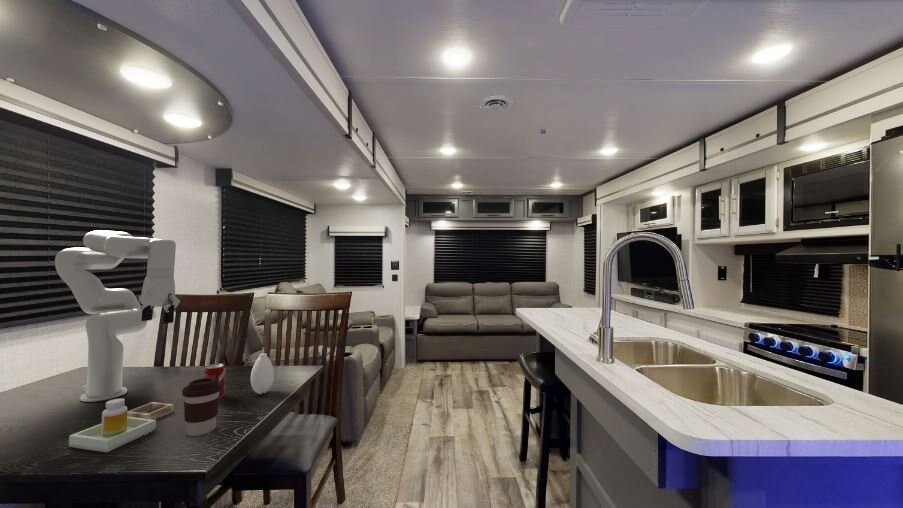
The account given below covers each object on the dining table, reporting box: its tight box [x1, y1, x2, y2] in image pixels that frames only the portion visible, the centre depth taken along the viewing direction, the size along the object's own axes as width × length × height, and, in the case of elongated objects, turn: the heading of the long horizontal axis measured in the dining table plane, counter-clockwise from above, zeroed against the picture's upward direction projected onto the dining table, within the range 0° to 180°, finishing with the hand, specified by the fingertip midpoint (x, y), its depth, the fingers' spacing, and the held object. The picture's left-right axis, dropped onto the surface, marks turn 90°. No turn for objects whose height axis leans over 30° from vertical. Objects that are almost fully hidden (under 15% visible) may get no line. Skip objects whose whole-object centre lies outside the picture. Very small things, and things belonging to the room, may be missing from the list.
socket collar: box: [127, 401, 175, 420], centre depth 117 cm, size 9×9×2 cm
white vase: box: [250, 347, 275, 395], centre depth 139 cm, size 8×8×18 cm
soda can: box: [203, 363, 226, 399], centre depth 133 cm, size 7×7×12 cm
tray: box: [68, 416, 157, 453], centre depth 102 cm, size 13×13×3 cm
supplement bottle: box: [101, 398, 128, 439], centre depth 103 cm, size 5×5×10 cm
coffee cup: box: [181, 377, 222, 437], centre depth 108 cm, size 10×10×15 cm
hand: (157, 321), depth 126 cm, fingers open, 9 cm apart
